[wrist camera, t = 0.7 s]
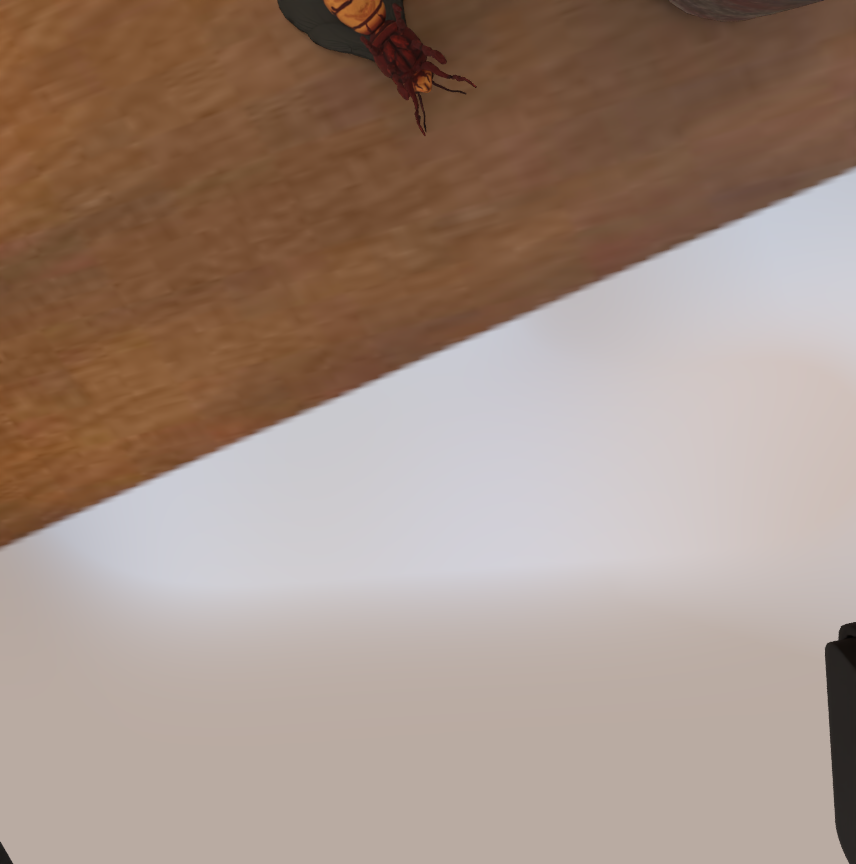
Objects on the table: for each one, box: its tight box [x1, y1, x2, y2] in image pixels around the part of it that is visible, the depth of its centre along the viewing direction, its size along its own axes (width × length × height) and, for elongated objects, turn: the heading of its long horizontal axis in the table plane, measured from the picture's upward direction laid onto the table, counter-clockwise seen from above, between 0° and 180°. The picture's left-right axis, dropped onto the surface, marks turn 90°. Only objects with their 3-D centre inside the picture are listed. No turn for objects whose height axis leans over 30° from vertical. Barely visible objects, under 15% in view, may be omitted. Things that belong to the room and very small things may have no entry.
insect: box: [278, 0, 477, 136], centre depth 24 cm, size 4×6×5 cm, turn 42°
